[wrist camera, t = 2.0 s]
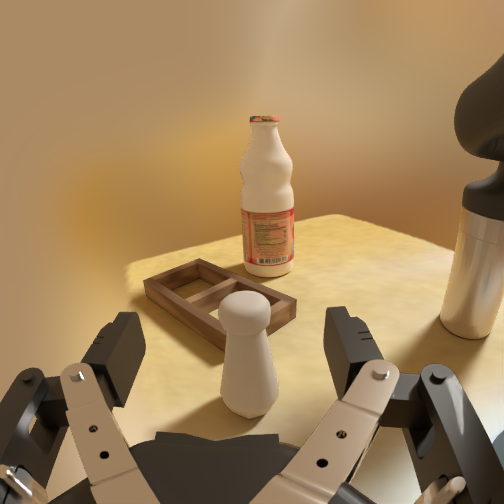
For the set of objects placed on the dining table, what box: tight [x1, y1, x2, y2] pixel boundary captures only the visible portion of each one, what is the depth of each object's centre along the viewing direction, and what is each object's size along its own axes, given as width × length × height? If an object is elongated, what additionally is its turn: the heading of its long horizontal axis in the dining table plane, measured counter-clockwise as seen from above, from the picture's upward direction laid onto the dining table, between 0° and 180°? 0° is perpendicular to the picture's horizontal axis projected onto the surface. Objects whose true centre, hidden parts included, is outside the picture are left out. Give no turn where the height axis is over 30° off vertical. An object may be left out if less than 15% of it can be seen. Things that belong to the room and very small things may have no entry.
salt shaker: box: [218, 291, 279, 419], centre depth 28 cm, size 6×6×13 cm
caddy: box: [143, 258, 297, 352], centre depth 48 cm, size 12×22×3 cm, turn 45°
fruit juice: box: [240, 116, 294, 277], centre depth 56 cm, size 9×9×28 cm
